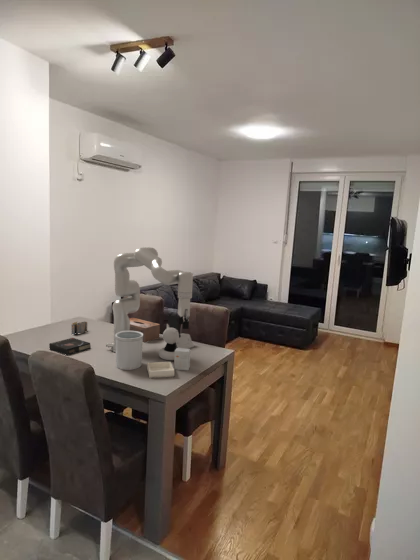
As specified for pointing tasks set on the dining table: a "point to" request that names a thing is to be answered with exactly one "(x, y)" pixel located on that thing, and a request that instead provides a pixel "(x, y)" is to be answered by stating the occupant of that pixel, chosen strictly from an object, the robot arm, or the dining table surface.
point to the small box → (182, 359)
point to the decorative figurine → (169, 343)
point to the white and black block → (184, 341)
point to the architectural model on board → (79, 327)
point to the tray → (160, 369)
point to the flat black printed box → (69, 346)
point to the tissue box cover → (145, 329)
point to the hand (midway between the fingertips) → (183, 326)
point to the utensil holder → (129, 349)
